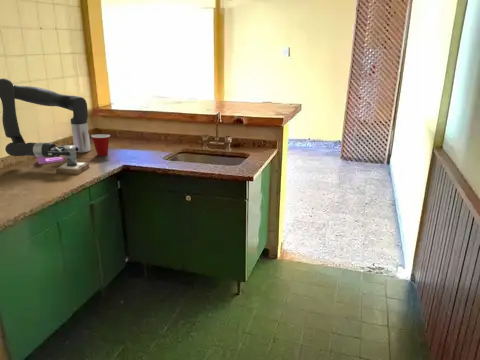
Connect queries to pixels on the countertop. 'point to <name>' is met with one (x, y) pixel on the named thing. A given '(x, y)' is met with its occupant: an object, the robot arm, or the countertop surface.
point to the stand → (72, 168)
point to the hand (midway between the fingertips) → (73, 151)
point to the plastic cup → (101, 143)
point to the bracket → (48, 160)
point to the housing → (71, 155)
